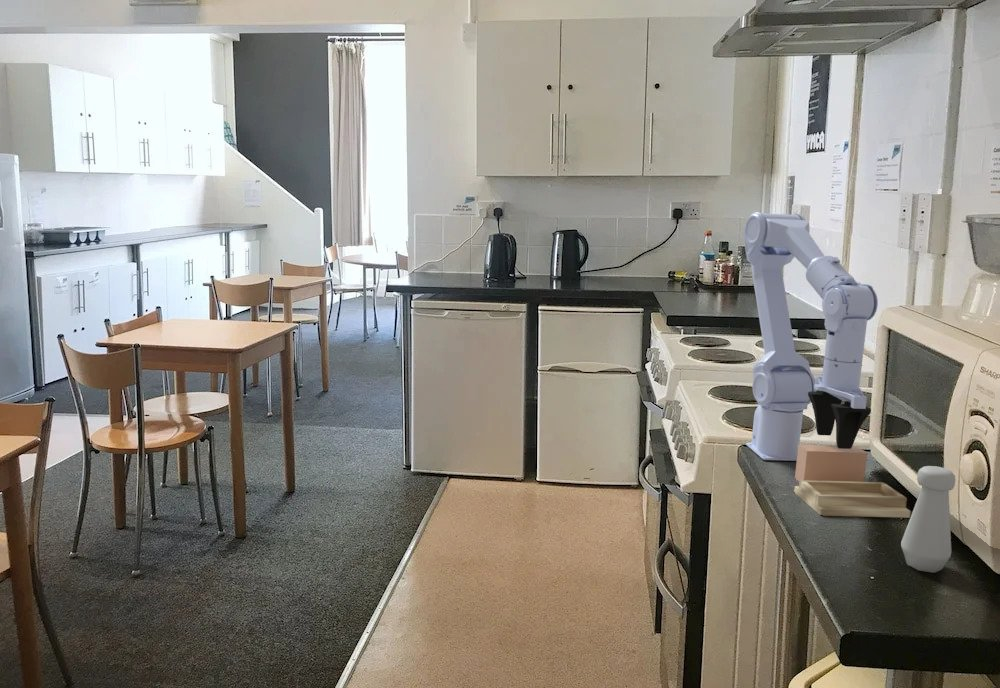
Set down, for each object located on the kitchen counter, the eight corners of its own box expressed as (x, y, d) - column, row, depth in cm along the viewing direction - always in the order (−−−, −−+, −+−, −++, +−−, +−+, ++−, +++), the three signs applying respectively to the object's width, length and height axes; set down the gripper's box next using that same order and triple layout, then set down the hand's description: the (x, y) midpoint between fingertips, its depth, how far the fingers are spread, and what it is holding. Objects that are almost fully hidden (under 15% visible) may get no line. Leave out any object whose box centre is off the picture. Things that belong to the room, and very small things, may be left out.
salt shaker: (897, 568, 112) (910, 470, 109) (900, 552, 117) (912, 458, 114) (948, 579, 109) (962, 479, 107) (949, 563, 114) (963, 467, 112)
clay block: (794, 479, 146) (798, 444, 145) (853, 481, 146) (857, 446, 145) (803, 486, 142) (807, 451, 141) (862, 488, 143) (867, 452, 142)
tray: (794, 492, 139) (795, 477, 139) (877, 494, 140) (879, 479, 139) (820, 515, 129) (822, 499, 129) (909, 517, 130) (911, 501, 130)
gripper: (800, 350, 148) (792, 428, 150) (838, 367, 133) (828, 453, 136) (841, 351, 148) (832, 429, 150) (883, 369, 134) (873, 454, 136)
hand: (833, 441), depth 143 cm, fingers open, 7 cm apart
